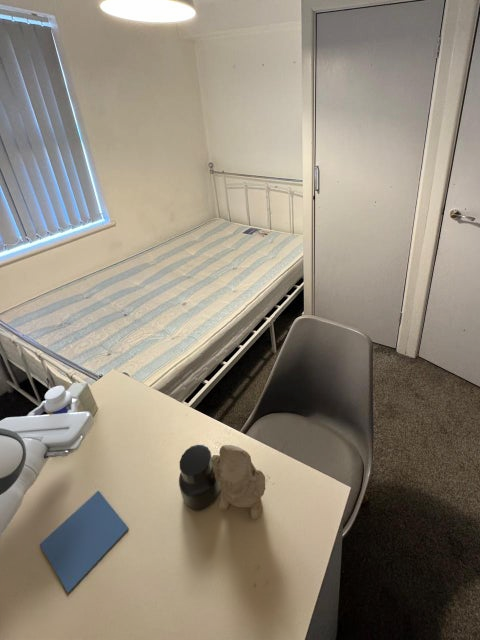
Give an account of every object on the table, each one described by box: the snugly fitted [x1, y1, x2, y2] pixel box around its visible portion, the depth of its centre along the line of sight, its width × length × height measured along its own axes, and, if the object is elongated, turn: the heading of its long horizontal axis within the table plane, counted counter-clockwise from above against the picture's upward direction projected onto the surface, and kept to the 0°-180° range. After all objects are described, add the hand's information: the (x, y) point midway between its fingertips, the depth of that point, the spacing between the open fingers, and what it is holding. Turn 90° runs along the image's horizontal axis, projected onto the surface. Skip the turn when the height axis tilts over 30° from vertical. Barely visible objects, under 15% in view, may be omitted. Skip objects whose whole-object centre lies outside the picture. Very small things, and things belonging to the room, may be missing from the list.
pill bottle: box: [44, 385, 79, 415], centre depth 79 cm, size 5×5×10 cm
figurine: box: [211, 444, 266, 520], centre depth 70 cm, size 13×7×20 cm, turn 72°
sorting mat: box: [39, 490, 130, 594], centre depth 69 cm, size 13×12×1 cm
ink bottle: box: [178, 443, 221, 512], centre depth 74 cm, size 10×9×12 cm
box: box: [66, 382, 99, 418], centre depth 92 cm, size 5×4×11 cm
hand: (61, 401), depth 80 cm, fingers closed on pill bottle, 5 cm apart
